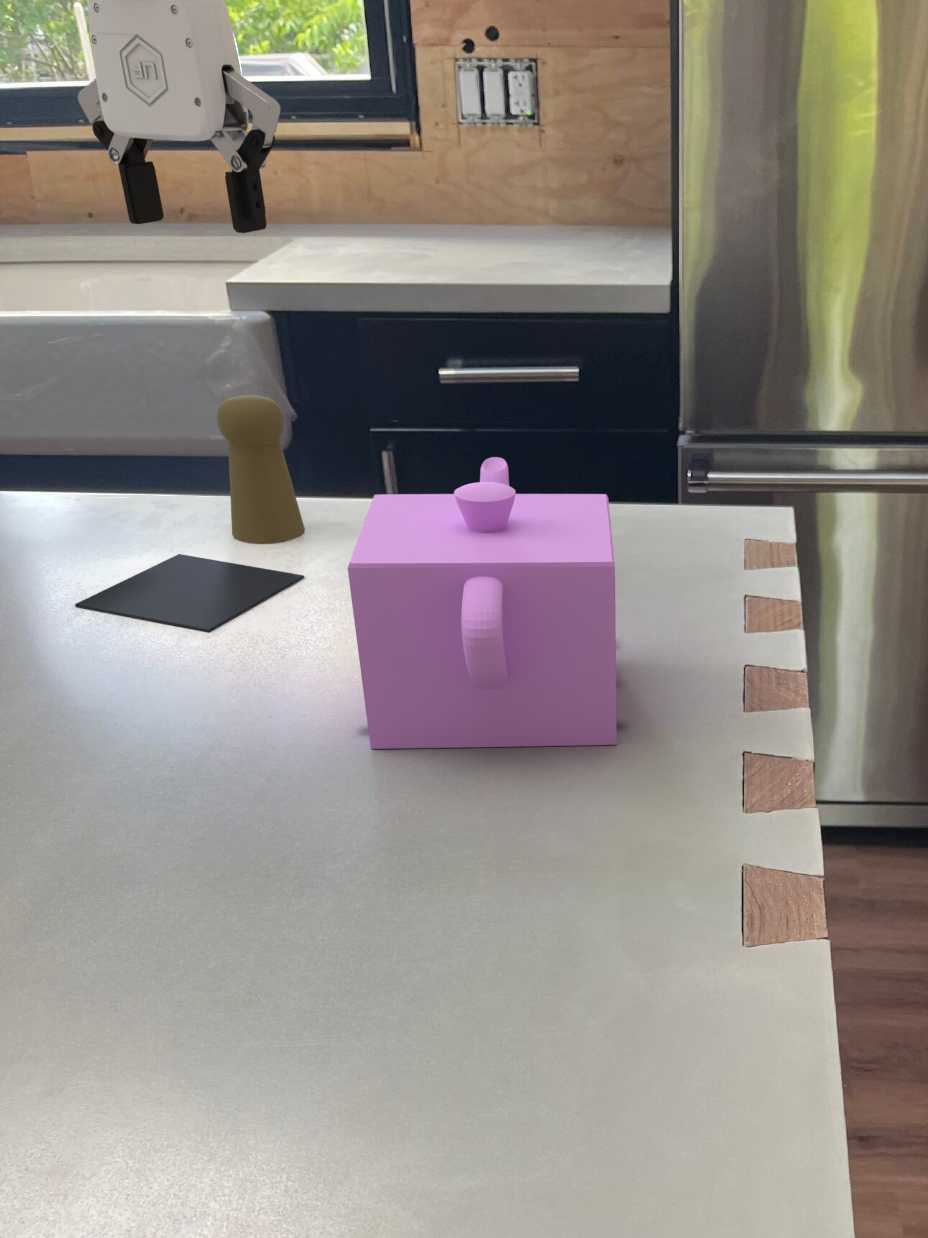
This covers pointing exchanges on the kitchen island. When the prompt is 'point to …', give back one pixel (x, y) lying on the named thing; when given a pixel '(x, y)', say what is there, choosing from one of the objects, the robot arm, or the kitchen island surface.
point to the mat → (191, 592)
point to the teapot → (486, 617)
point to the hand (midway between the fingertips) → (198, 226)
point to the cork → (258, 471)
